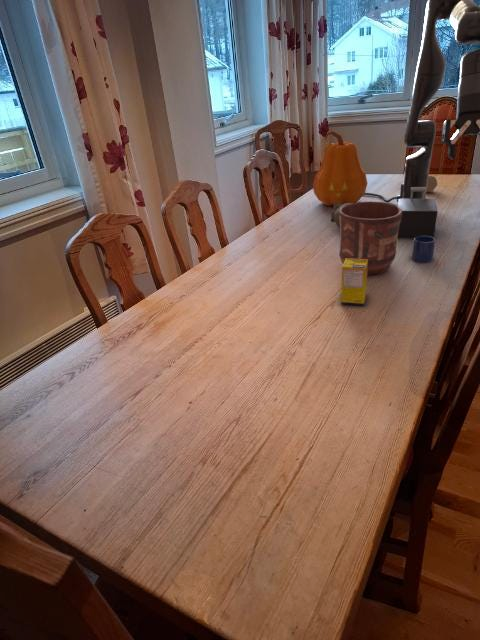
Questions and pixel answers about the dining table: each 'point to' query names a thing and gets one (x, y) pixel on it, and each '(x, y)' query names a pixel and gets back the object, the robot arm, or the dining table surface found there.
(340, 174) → the decorative pumpkin
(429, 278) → the dining table surface
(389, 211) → the pottery
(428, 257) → the creamer cup
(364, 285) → the supplement box
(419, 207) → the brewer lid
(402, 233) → the black cube
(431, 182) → the mug
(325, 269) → the dining table surface
